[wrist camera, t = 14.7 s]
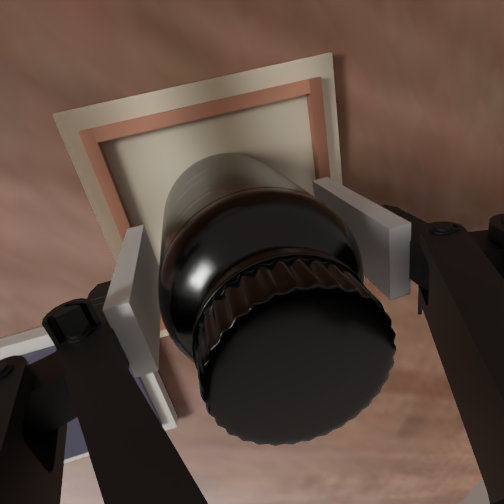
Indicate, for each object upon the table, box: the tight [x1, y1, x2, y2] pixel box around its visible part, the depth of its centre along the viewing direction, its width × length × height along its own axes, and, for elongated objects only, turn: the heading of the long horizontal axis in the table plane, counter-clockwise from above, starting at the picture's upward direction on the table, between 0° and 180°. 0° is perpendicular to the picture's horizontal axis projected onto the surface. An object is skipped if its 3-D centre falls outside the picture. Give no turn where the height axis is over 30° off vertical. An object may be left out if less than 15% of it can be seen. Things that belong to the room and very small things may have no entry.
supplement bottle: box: [158, 153, 396, 446], centre depth 13 cm, size 7×7×12 cm
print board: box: [52, 52, 343, 338], centre depth 19 cm, size 13×13×1 cm
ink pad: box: [0, 327, 177, 464], centre depth 22 cm, size 10×10×1 cm
